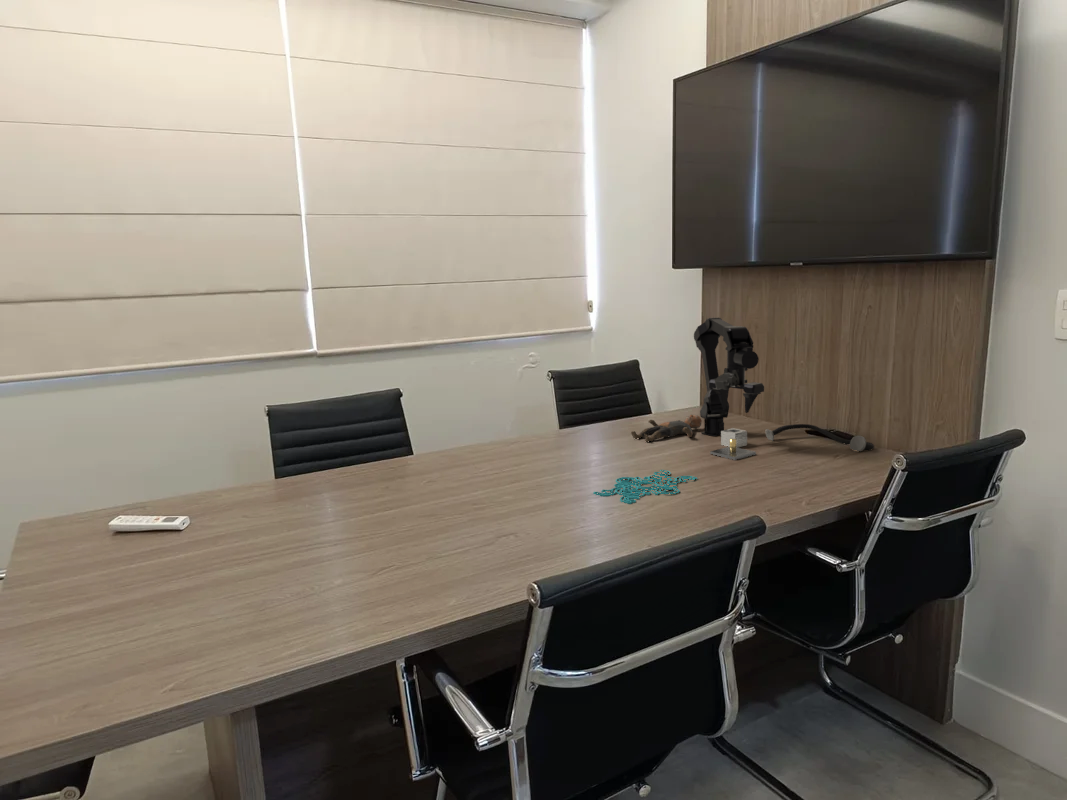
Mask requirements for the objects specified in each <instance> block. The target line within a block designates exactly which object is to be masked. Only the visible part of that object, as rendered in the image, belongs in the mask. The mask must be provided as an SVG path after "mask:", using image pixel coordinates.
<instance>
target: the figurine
mask: <svg viewBox="0 0 1067 800" xmlns="http://www.w3.org/2000/svg"><path fill="white" fill-rule="evenodd" d="M648 423H649V424H650V425H652V426H651V427H647V428H644V429H643V430H642V431H641V432H640V433H639V434H637V431H631V436H632V438H633V439H634V438H635V439H637V438H641V437H643V438H645V439H644V442H645V441H646V442H647V443H649V442H648V441H651V442H653V440H654V441H655V440H658V439H659V440H660V439H661V438H662V439H663V438H669V437H668V436H672V437H675V436H674V435H676V436H678V435H677V434H679V435H686V434H687V435H686V436H687V437H688V438H689V437H691V438H692V437H693V435H694V434H693V429H695V430H696V429H697V430H698V429H699V428H700V427H701V426H702V417H701V416H699V415H696V414H690V416H686V418H685V420H684V421H682V420H672V421H666V422H662V423H660V424H658V423H657V422H656V421H655V420H654V419H649V420H648ZM635 439H634V440H635ZM641 439H642V438H641ZM646 442H645V443H646Z"/></svg>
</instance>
